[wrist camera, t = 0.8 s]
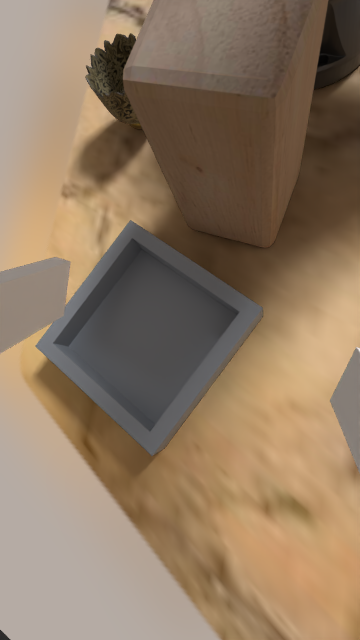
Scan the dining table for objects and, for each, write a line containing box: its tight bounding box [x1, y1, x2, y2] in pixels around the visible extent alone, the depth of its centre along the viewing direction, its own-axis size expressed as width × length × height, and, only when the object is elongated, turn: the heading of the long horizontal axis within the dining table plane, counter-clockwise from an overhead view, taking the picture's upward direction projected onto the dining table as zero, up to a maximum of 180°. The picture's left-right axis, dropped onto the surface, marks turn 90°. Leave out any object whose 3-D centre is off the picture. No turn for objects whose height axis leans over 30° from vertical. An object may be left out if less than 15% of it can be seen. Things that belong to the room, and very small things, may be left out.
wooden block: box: [123, 0, 328, 247], centre depth 28 cm, size 10×10×20 cm
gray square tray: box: [36, 220, 263, 456], centre depth 35 cm, size 17×17×4 cm
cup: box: [86, 33, 142, 129], centre depth 39 cm, size 8×7×8 cm
